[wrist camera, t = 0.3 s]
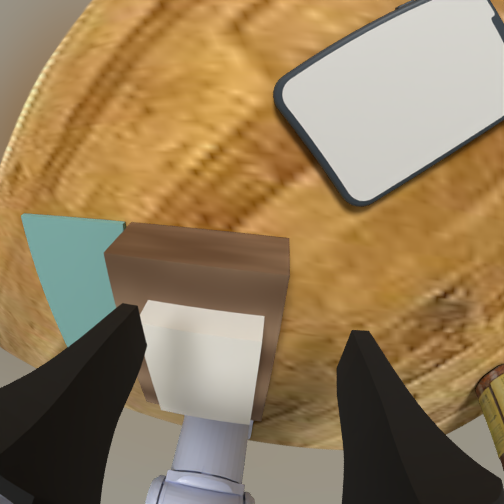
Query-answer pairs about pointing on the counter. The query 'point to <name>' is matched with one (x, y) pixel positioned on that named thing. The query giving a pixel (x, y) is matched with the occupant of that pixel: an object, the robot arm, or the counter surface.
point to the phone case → (398, 94)
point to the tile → (203, 360)
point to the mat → (73, 268)
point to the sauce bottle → (493, 406)
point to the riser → (204, 281)
